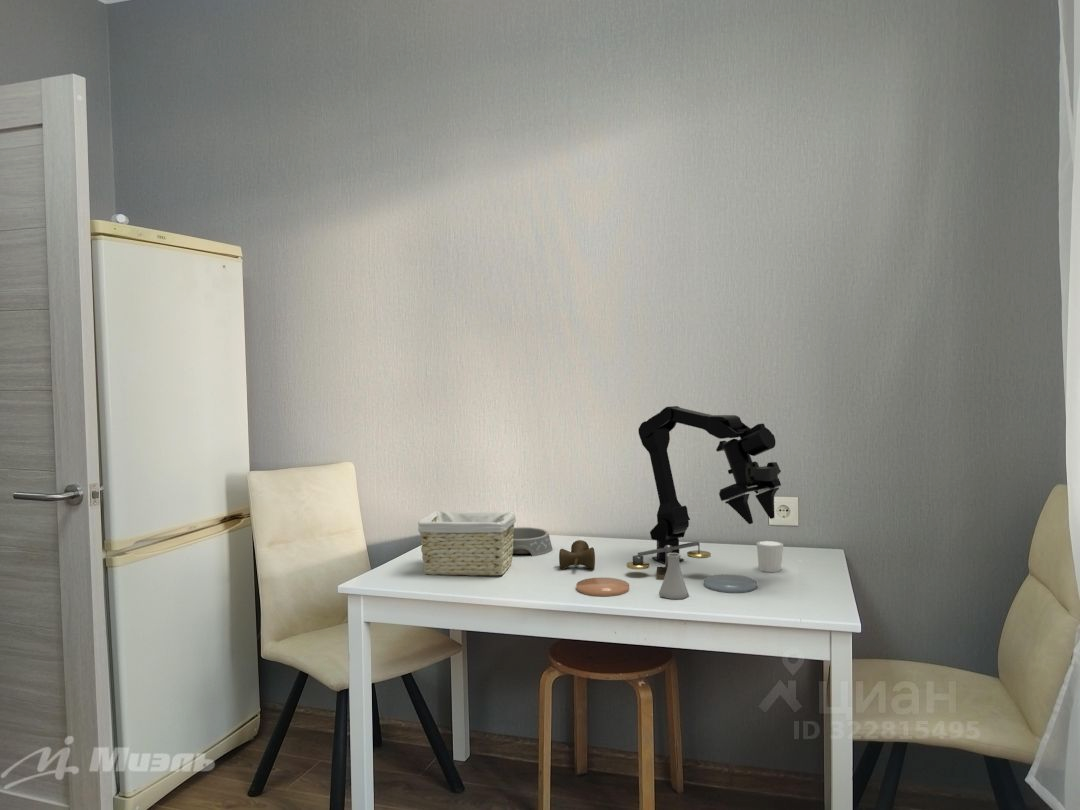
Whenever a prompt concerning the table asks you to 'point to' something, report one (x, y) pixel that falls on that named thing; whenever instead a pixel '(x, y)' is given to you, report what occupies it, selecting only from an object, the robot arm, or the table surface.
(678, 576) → the flask
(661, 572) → the balance
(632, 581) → the table surface
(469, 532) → the storage basket
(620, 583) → the terracotta dish
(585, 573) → the table surface
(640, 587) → the table surface
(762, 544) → the white cup
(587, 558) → the kendama
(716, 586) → the slate dish
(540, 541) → the dog bowl
